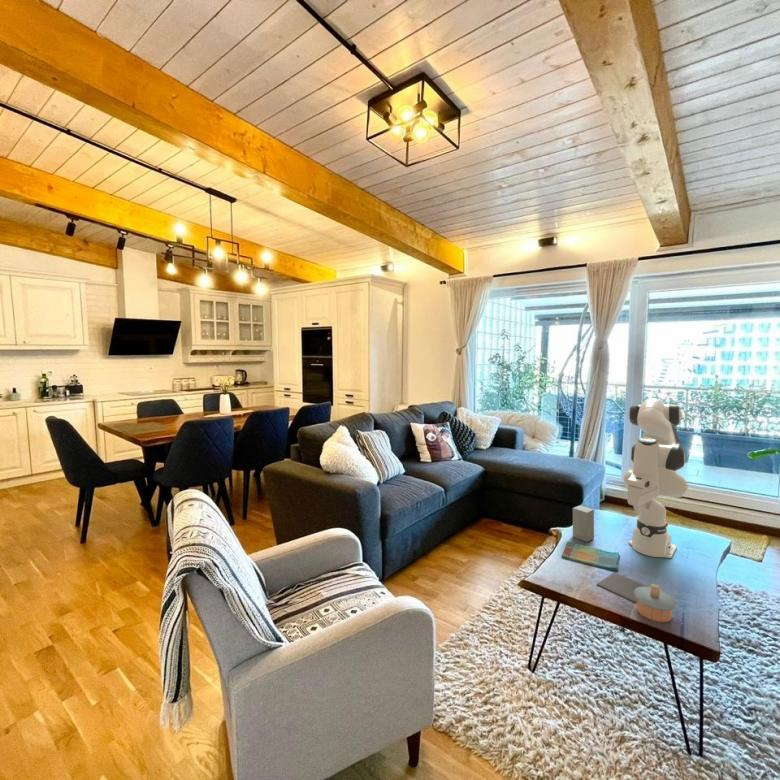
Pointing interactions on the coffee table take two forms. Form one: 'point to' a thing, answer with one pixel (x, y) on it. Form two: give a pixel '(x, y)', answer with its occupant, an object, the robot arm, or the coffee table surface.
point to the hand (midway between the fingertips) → (642, 511)
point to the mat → (621, 586)
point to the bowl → (653, 612)
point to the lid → (655, 598)
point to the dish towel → (591, 556)
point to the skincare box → (583, 523)
